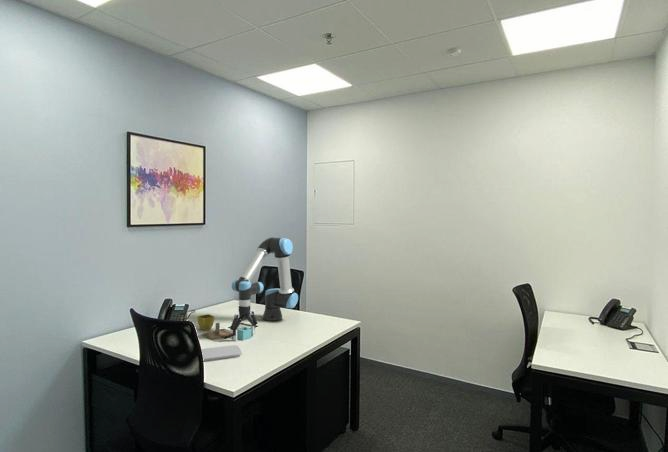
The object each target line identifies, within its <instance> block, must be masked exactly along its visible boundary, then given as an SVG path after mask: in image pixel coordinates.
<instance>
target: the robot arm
mask: <svg viewBox="0 0 668 452" xmlns="http://www.w3.org/2000/svg"><path fill="white" fill-rule="evenodd" d="M293 245H294V244H293V241H292V240H290V239H289V238H285V237H269V238H268V237H267V239H264V240H263V241H262V242H261V243H260V244H259V245H258V247H257V249H256V252H255V253H254V255H253V257H251V258H252V259H251V260H250V262H249V263H248V264H247V266H246V268H245V269H244V271H243V272H242V273H241V275H240V276H239V278H238V279H237V280H236V279H235V280H234V281H232V283H231V289H232V290H233V291H234V292H237V293H238V314H236V313H235V314H234V318H233V320H232V323H231V325H230V328H229V330H231V331H232V333H233V335H232V336H233V341H235V342H237V341H238V338H237V329H239V327H240V325H241V323H242V322H243V321H246V320H247V321H248V322H249V324H250V329H251V337H254V336H255V331H256V326H257V325H258V320H257V318H256V316H255V311H253V310H251V302H252V301H251V300H252V299H251V298H252V297H251V296H253V295H256V294H257V295H258V294H261V293H263V291H264V289H265V288H264V284H263V283H262V282H261V281H256V282H252V279H253V278H254V276H255V274H256V273H257V272H258V270H259V268H260V267H261V265H262V263H263V262H264V260H265V259H266V258H267V257H269V255H270V254H273V255H274V257H275V259H276V262H277V270H278V278H279V287H280V288H277V287H276V288H269V289H266V290H265V292H264V293H265V295H264V310H263V314H262V320H264V321H267V322H277V321H278V322H279V321H281V320H283V313H282V310H281V308H286V309H293V308H295V307H296V305H297V304H298V301H299V294H297V293H296V292H295V289H294V287H293V286H292V275H291V268H290V267H291V266H290V257H291V254H292V253H293V250H294V246H293Z"/></svg>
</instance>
